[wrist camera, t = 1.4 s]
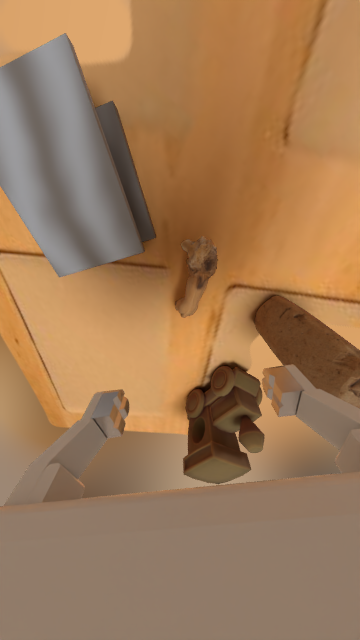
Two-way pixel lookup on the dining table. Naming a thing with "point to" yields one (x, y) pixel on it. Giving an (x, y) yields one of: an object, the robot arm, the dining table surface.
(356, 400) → the block
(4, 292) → the dining table surface
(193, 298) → the lion figurine
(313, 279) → the dining table surface
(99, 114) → the stand
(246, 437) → the wooden toy train
